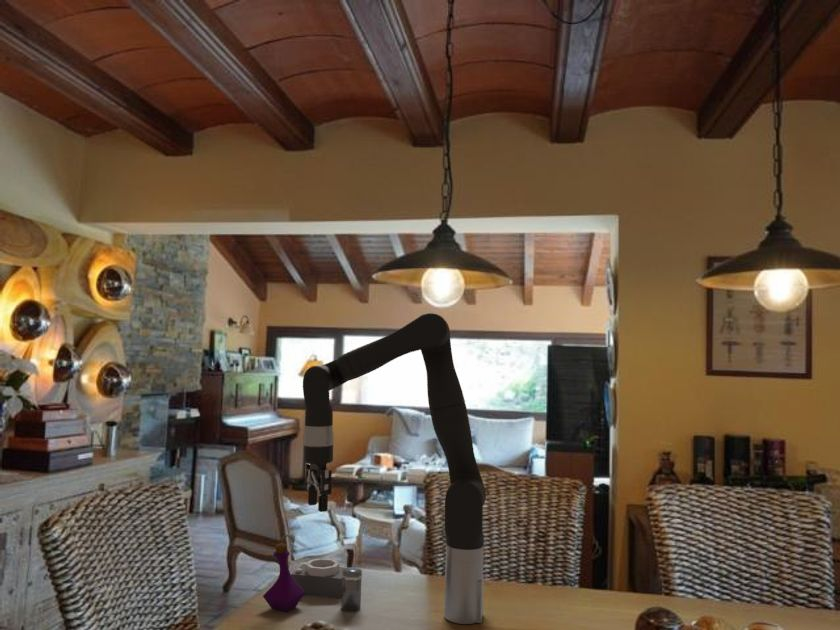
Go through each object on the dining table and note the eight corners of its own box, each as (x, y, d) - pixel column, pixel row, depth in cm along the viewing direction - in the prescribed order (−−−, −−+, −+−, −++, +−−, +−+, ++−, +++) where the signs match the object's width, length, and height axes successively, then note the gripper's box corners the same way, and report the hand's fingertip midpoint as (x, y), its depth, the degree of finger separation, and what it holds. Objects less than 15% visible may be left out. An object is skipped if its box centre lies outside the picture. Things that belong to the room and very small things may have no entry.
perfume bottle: (261, 609, 155) (265, 534, 157) (281, 600, 162) (285, 528, 163) (285, 616, 152) (289, 539, 153) (305, 606, 159) (308, 532, 160)
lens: (363, 605, 160) (364, 568, 161) (357, 612, 155) (359, 574, 156) (344, 603, 161) (345, 566, 162) (338, 610, 156) (339, 572, 157)
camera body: (351, 586, 173) (352, 560, 174) (341, 598, 164) (342, 570, 165) (302, 582, 176) (303, 556, 176) (290, 593, 167) (291, 566, 167)
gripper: (342, 445, 158) (341, 512, 157) (323, 440, 171) (322, 501, 170) (312, 447, 155) (311, 515, 154) (296, 441, 168) (295, 504, 166)
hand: (317, 508), depth 162 cm, fingers open, 8 cm apart
